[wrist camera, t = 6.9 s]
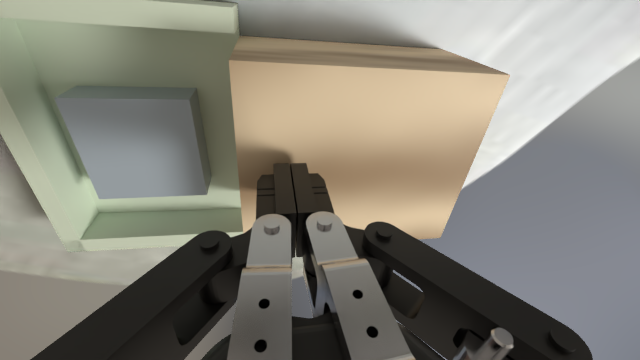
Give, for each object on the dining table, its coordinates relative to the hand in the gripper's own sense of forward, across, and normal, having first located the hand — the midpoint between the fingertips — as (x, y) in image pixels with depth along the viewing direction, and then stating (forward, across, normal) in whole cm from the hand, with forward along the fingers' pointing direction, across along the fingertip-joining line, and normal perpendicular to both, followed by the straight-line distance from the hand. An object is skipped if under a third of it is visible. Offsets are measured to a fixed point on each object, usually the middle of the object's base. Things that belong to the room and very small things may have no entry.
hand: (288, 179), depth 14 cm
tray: (+6, +8, 0) cm, 10 cm away
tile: (+4, +8, +1) cm, 9 cm away
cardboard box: (+6, -4, 0) cm, 7 cm away
